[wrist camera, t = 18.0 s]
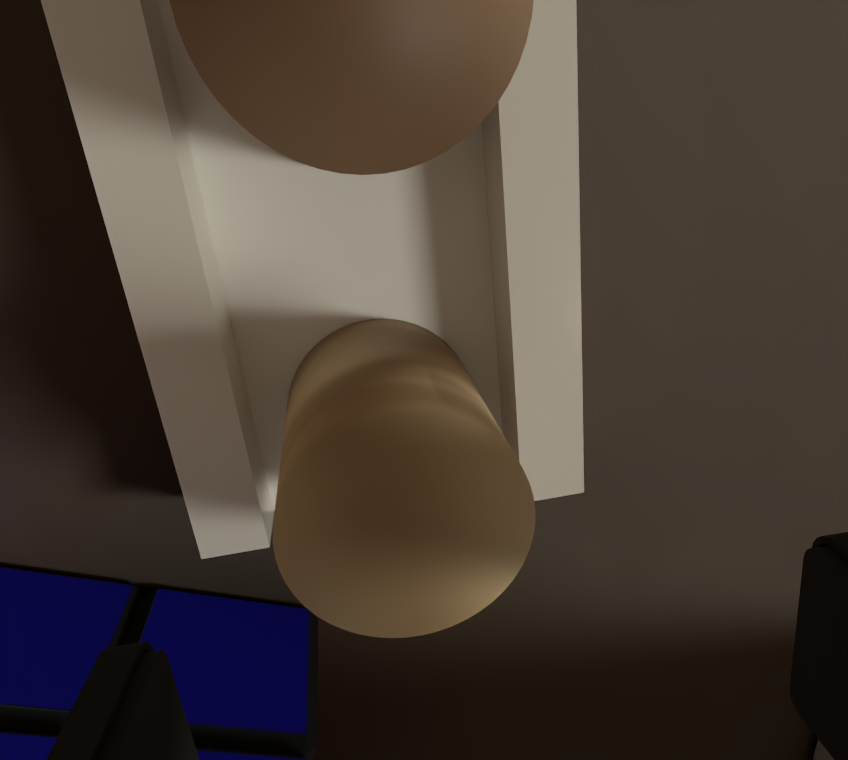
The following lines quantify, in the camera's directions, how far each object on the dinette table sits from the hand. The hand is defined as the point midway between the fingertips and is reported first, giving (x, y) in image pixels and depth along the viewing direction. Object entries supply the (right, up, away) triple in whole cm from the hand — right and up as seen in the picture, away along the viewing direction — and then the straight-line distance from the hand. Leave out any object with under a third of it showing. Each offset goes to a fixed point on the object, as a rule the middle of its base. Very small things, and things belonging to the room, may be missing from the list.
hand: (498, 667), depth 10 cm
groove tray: (-3, +8, +7) cm, 10 cm away
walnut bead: (-3, +11, +4) cm, 12 cm away
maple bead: (-2, +4, +7) cm, 8 cm away
